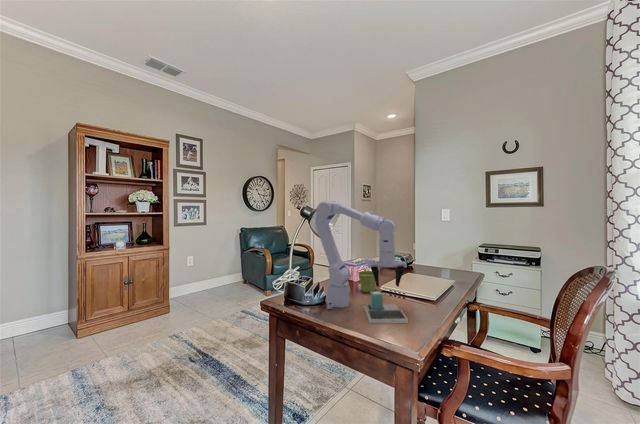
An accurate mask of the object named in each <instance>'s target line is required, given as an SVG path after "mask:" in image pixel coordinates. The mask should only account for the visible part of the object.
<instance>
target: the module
mask: <svg viewBox="0 0 640 424" xmlns="http://www.w3.org/2000/svg"><path fill="white" fill-rule="evenodd" d="M383 299H384V297H383V293H382V292H381V291H374V292H370V305H371V309H372V310H383V301H384V300H383Z"/></svg>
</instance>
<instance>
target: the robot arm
mask: <svg viewBox="0 0 640 424" xmlns="http://www.w3.org/2000/svg"><path fill="white" fill-rule="evenodd" d="M336 215H344V216H347V217H350V218H352V219H354V220H357V221H359V222H360V224H361V226H364V227H366V228H368V229H370V230H372V231H375V232H378V234H379V239H378V240H379V244H378V245H379V246H378V247H379V251H378V252H379V253H378V254H379V261H378V260H377V261H367V268H368V269H370V271H372V272H373V275H374V278H375V286H376V287H377V288H378V287H380V282H379V281H380V280H379V275H380V274H379V273H380V271H379V268H394V271H395V286H396V287H400V283H401V279H402V277H403V275H404V273H405V270H406V269H405V268H407V267H408V264H407V261H399V260H398V261H397V260H395V259H396V257H395V256H396V254H395V252H396V251H395V250H396V249H395V248H396V247H395V246H396V245H395V244H396V241H395V233H394V231H395V230H396V225H395V223H394V222H393V220H391V219H389V218H387V219H385V216H379V215H377V214H374V212H373V211H365V212H361V211H359V210H357V209H354V208H352V207H350V206H347V205H345V204H343V203H341V202H336V201H333V200H331V201H330V200H329V201H327V200H323V201H321V202H320V201H319V203H318V204H317V206H316V208H315V223H314V224H315V229H316V231H317V233H318V236H319V239H320V242H321V244H322V245H321V246H322V248H323V250H324V253H325V256H326V259H327V261H328V270H327V271H328V273H329V274H328V276H329V278H328V279H329V282H330V284H326V299H325V300H326V309H327V310H332V309H333V308H346V307H349V305H350V290H349V289H350V284H349V278H350V277H351V272H350V269H349V268H348V267H347V265H346V264H345V262H344V261H343V260H342V258H341V256H340V253H339V250H338V247H337V245H336V242H335V240H334V237H333V234H332V231H331V227H330V226H329V225H330V222H331V220H332V219H333V218H334V217H335V216H336Z"/></svg>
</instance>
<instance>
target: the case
mask: <svg viewBox="0 0 640 424" xmlns="http://www.w3.org/2000/svg"><path fill="white" fill-rule="evenodd" d="M365 314H366V318H367V319H368V324H409V318H408V317H407V315H406V314H405V313H404V311H403V309H399V310H366V312H365Z"/></svg>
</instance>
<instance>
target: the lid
mask: <svg viewBox="0 0 640 424" xmlns="http://www.w3.org/2000/svg"><path fill="white" fill-rule="evenodd" d="M363 308H364V311H365V313H366V310H372V309H371V304H363ZM383 310H400V308H399V307H398V305H397V304H390V303H389V304H383Z"/></svg>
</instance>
